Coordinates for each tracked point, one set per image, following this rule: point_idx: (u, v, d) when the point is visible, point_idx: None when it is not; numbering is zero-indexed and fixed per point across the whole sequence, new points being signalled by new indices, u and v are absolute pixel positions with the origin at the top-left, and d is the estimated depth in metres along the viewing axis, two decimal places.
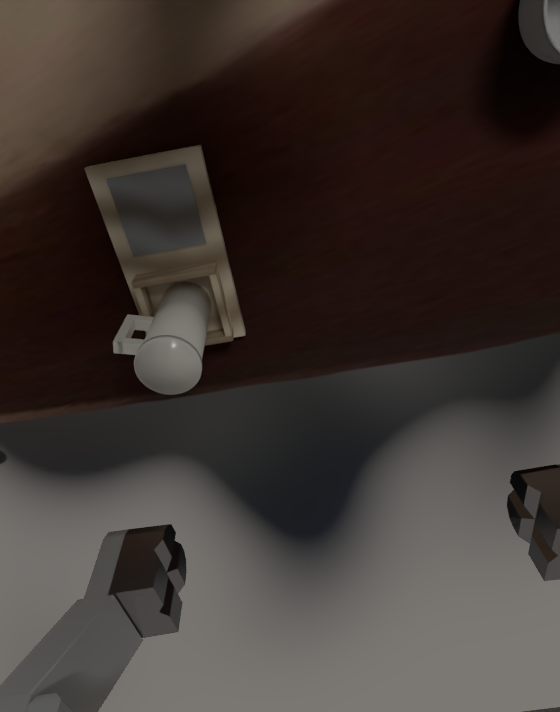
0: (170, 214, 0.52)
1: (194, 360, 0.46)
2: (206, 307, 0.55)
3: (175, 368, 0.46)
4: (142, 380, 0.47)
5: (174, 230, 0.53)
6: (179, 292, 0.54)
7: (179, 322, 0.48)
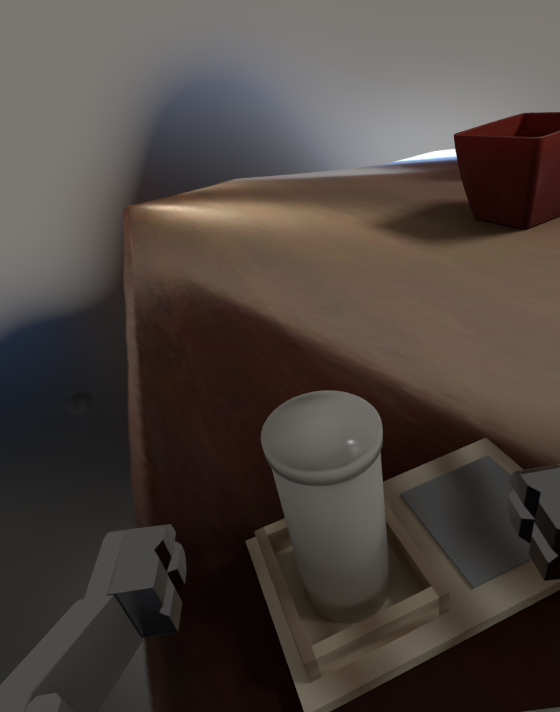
0: (489, 527, 0.34)
1: (349, 459, 0.23)
2: (372, 585, 0.29)
3: (322, 437, 0.25)
4: (285, 404, 0.28)
5: (468, 536, 0.34)
6: None
7: None
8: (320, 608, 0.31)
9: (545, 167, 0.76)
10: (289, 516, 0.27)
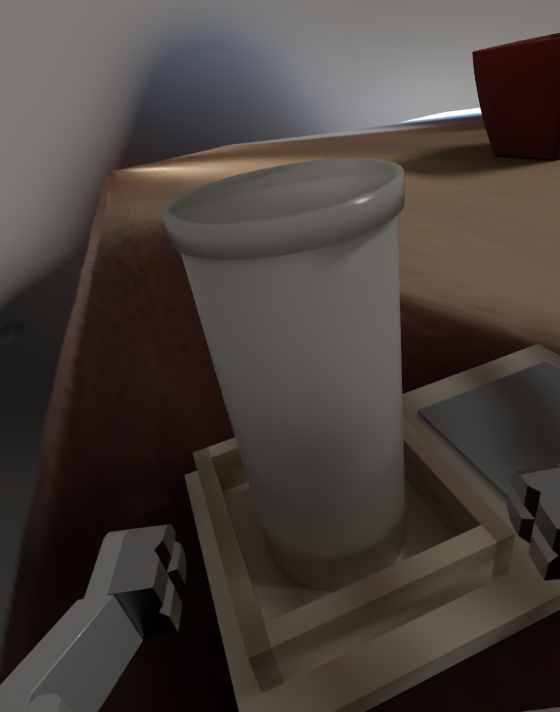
0: None
1: (334, 201, 0.11)
2: (377, 520, 0.16)
3: (281, 192, 0.12)
4: (222, 180, 0.15)
5: (528, 462, 0.21)
6: None
7: None
8: (288, 565, 0.18)
9: None
10: (223, 374, 0.14)
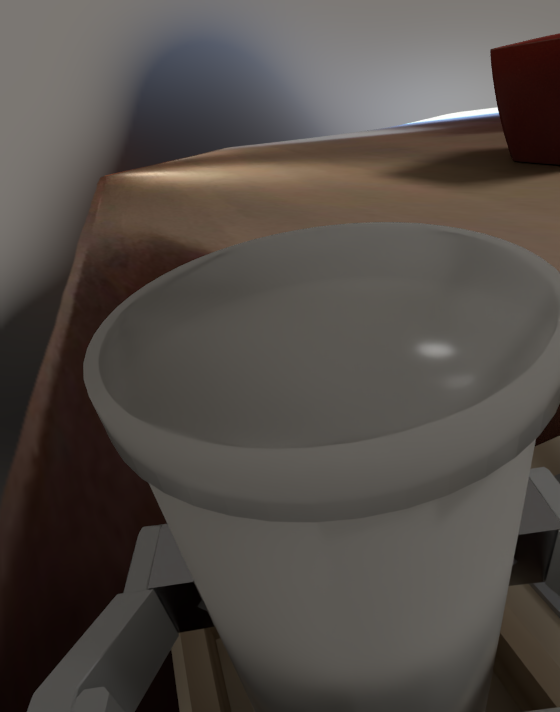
0: None
1: (455, 387, 0.05)
2: None
3: (318, 319, 0.06)
4: (208, 258, 0.09)
5: None
6: None
7: None
8: None
9: None
10: (208, 608, 0.08)
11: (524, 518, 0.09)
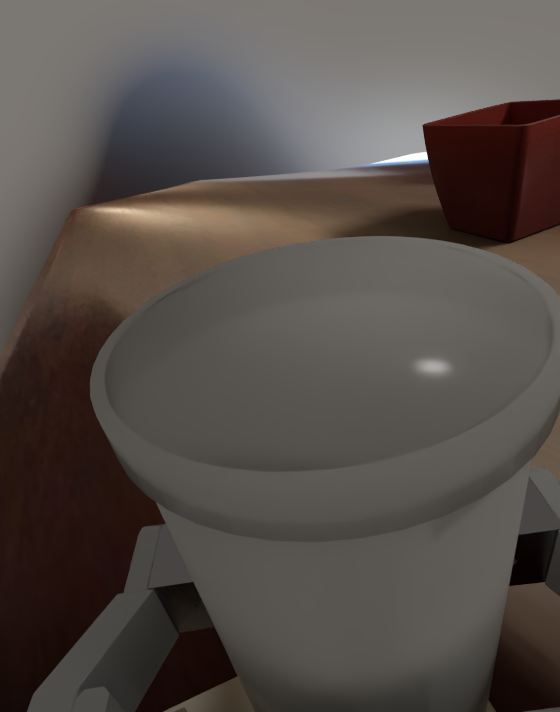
0: None
1: (452, 410, 0.05)
2: None
3: (319, 338, 0.06)
4: (211, 272, 0.09)
5: None
6: None
7: None
8: None
9: (533, 164, 0.59)
10: (211, 617, 0.08)
11: (524, 518, 0.09)
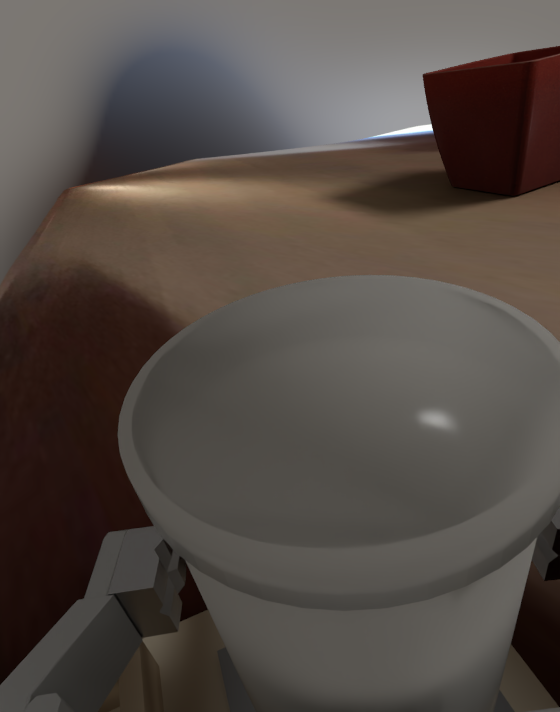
0: None
1: (473, 485, 0.05)
2: None
3: (339, 394, 0.07)
4: (227, 310, 0.09)
5: None
6: None
7: None
8: None
9: (540, 106, 0.56)
10: (228, 650, 0.08)
11: None
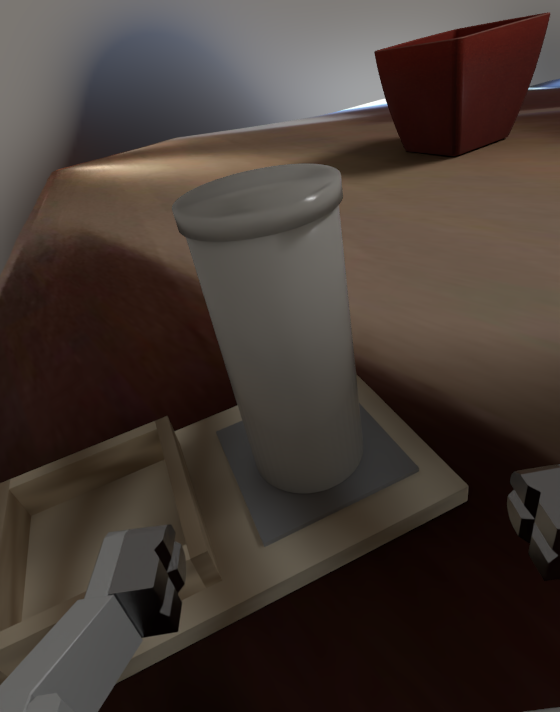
0: None
1: (290, 200, 0.16)
2: (337, 434, 0.22)
3: (256, 193, 0.17)
4: (213, 182, 0.20)
5: None
6: None
7: (345, 272, 0.20)
8: (272, 475, 0.24)
9: (469, 77, 0.66)
10: (219, 325, 0.19)
11: None
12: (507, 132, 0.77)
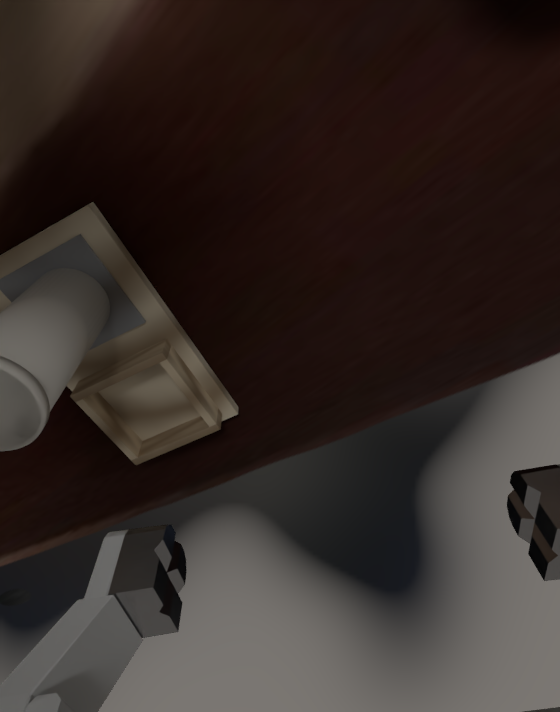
0: None
1: (18, 385, 0.26)
2: (84, 298, 0.35)
3: None
4: None
5: None
6: (35, 284, 0.35)
7: (1, 327, 0.28)
8: None
9: None
10: None
11: None
12: None
